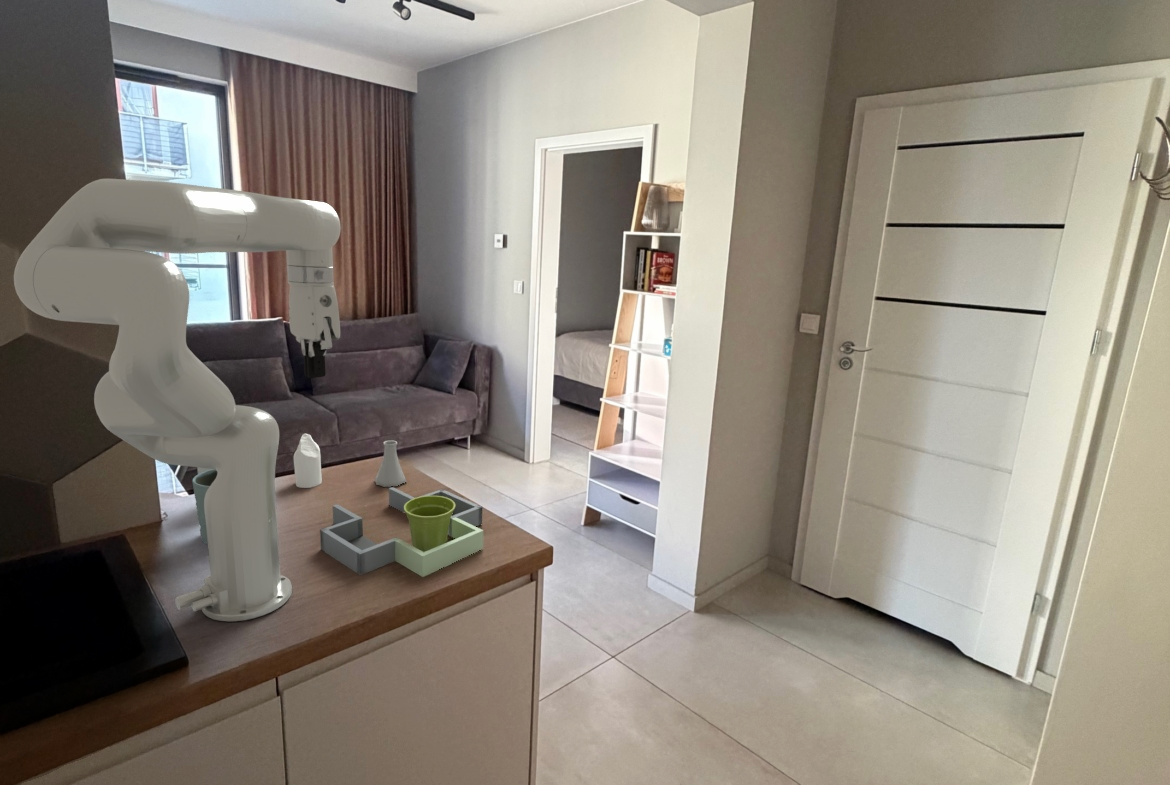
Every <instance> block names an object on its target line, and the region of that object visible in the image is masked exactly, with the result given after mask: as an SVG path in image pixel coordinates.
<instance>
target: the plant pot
mask: <svg viewBox="0 0 1170 785" xmlns="http://www.w3.org/2000/svg"><path fill="white" fill-rule="evenodd" d="M421 496H422V497H420V496H418V497H415V498H414V499H411V500H410V501H408V502H407V503H406V504H405V505H404V511H405V512H406V514H405V515H406V517H407V519H408V524H409V531H410V537H411V544H412V546H413V547H415V548H417V549H419V550H421V551H422V552H426V551H428V550H431V549H433V548H435V547H438V546H440V545H442V544H445V543H447V542H448V537H449V536H448V529H449V523H450V518H451V516H452V513H453V511H454V509H455V502H454V501H453V500H451V499H449V498H447V497H443V496H423V495H421Z"/></svg>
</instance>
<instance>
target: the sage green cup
mask: <svg viewBox="0 0 1170 785" xmlns="http://www.w3.org/2000/svg"><path fill="white" fill-rule="evenodd" d="M217 474H218V472H217V470H215V469H213V470H209V471H205V472H202V473H200V474H198V473H197V475H195V476H194V477H193V478H192V480H191V481H192V487H193V493H194V499H195V507H196V515H197V518H198V519H197V520H198V525H199V526H200V527H199V532H200V539H201V541H202V543H203V544H205V545H207V546H208V540H207V529H206V518H205V511H204V498H205V494H206V492H207V490H208V488H209V487H210V486H211V484H212V483H213V482H214V480H215V479H216V477H217Z"/></svg>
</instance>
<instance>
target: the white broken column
mask: <svg viewBox="0 0 1170 785" xmlns="http://www.w3.org/2000/svg"><path fill="white" fill-rule="evenodd" d="M321 460H322V458H321V449H320V447H319V444H317V442H315V441H314V439H313V438H312V435H311V434H309V433H303V434H302V435H301V437H300V440H299V443H298V445H297V448H296V451H294V454H293V468H294V477H295V486H296V487H297V488H300V489H309V488H315V487H318V486H319V485H321V484H322V482H323V481H322V463H321V462H322V461H321Z"/></svg>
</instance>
